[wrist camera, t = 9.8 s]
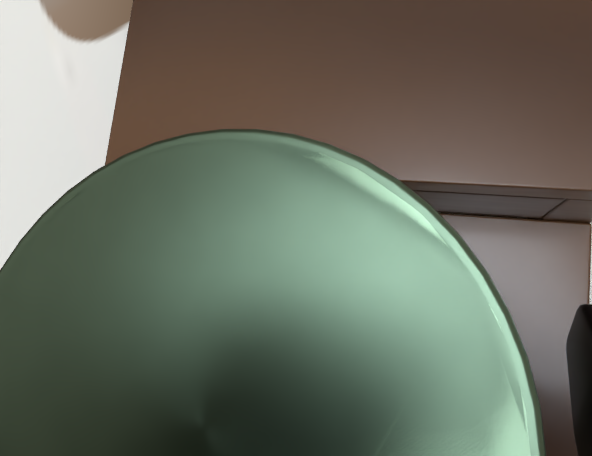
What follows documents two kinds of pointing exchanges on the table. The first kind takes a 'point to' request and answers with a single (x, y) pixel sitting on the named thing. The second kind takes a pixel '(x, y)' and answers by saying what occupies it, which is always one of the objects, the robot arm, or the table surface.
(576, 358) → the robot arm
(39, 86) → the table surface
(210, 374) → the tea tin
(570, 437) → the brown stand
